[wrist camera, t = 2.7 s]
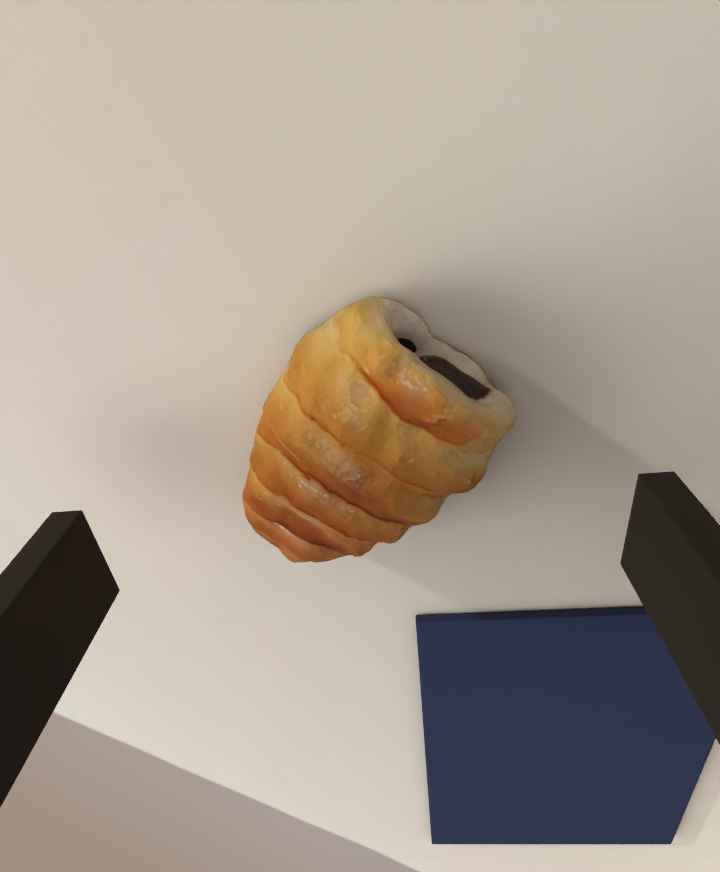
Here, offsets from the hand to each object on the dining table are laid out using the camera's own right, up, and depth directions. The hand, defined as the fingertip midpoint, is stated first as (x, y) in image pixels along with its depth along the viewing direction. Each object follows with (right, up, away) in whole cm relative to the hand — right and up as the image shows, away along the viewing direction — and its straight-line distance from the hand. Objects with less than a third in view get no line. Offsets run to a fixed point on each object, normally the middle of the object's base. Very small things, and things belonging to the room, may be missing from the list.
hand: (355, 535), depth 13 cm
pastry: (+1, +3, +5) cm, 6 cm away
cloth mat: (+11, -13, +14) cm, 22 cm away
